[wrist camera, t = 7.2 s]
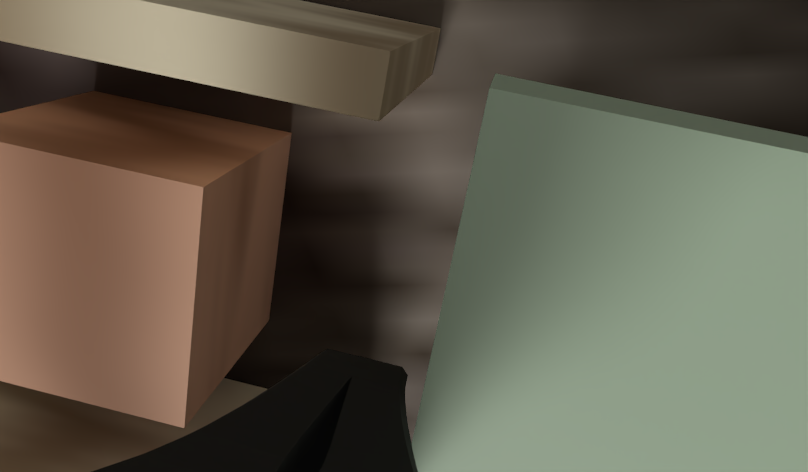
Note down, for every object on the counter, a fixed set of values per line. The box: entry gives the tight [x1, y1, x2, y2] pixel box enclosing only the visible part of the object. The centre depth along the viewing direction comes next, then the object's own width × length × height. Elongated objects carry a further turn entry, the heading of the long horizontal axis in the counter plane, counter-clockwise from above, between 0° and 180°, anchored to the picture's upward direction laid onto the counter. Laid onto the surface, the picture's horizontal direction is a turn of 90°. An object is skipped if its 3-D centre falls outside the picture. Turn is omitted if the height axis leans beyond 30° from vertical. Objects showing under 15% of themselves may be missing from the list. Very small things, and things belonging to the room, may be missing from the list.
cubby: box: [0, 0, 441, 472], centre depth 15 cm, size 14×11×6 cm
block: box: [0, 91, 292, 428], centre depth 16 cm, size 5×5×5 cm
